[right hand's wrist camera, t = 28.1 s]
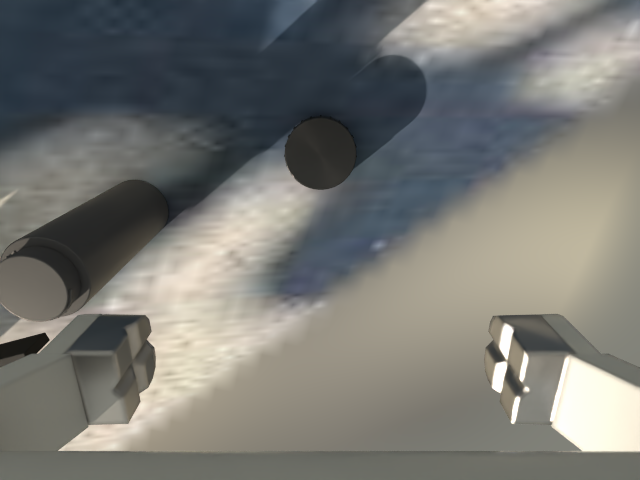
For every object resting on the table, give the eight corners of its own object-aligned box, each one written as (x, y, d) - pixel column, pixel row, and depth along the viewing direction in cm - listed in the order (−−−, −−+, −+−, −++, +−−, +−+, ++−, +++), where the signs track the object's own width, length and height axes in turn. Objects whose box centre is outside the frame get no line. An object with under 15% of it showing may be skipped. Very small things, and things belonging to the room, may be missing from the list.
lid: (349, 108, 33) (350, 110, 32) (360, 178, 35) (362, 183, 34) (278, 123, 34) (276, 125, 32) (294, 191, 36) (292, 196, 34)
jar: (108, 230, 37) (-15, 322, 23) (109, 174, 35) (-24, 238, 22) (167, 240, 37) (78, 336, 24) (170, 185, 36) (77, 255, 22)
